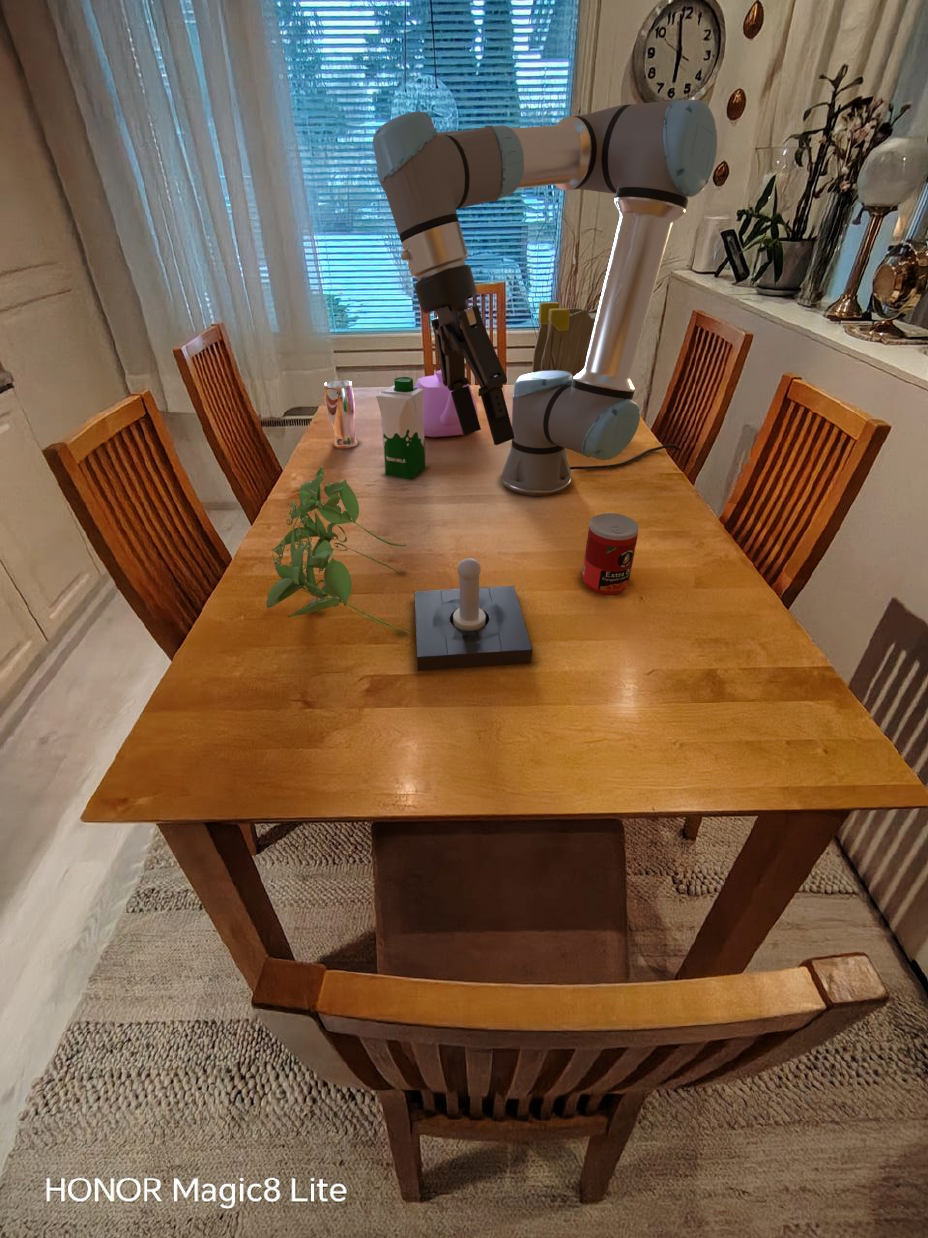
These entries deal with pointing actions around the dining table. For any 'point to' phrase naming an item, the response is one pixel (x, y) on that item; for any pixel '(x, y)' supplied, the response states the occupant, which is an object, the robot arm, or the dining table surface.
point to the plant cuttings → (318, 548)
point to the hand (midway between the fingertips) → (487, 436)
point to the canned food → (609, 552)
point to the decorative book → (563, 338)
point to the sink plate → (462, 648)
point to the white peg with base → (469, 597)
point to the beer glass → (341, 412)
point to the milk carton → (402, 428)
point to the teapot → (439, 407)
